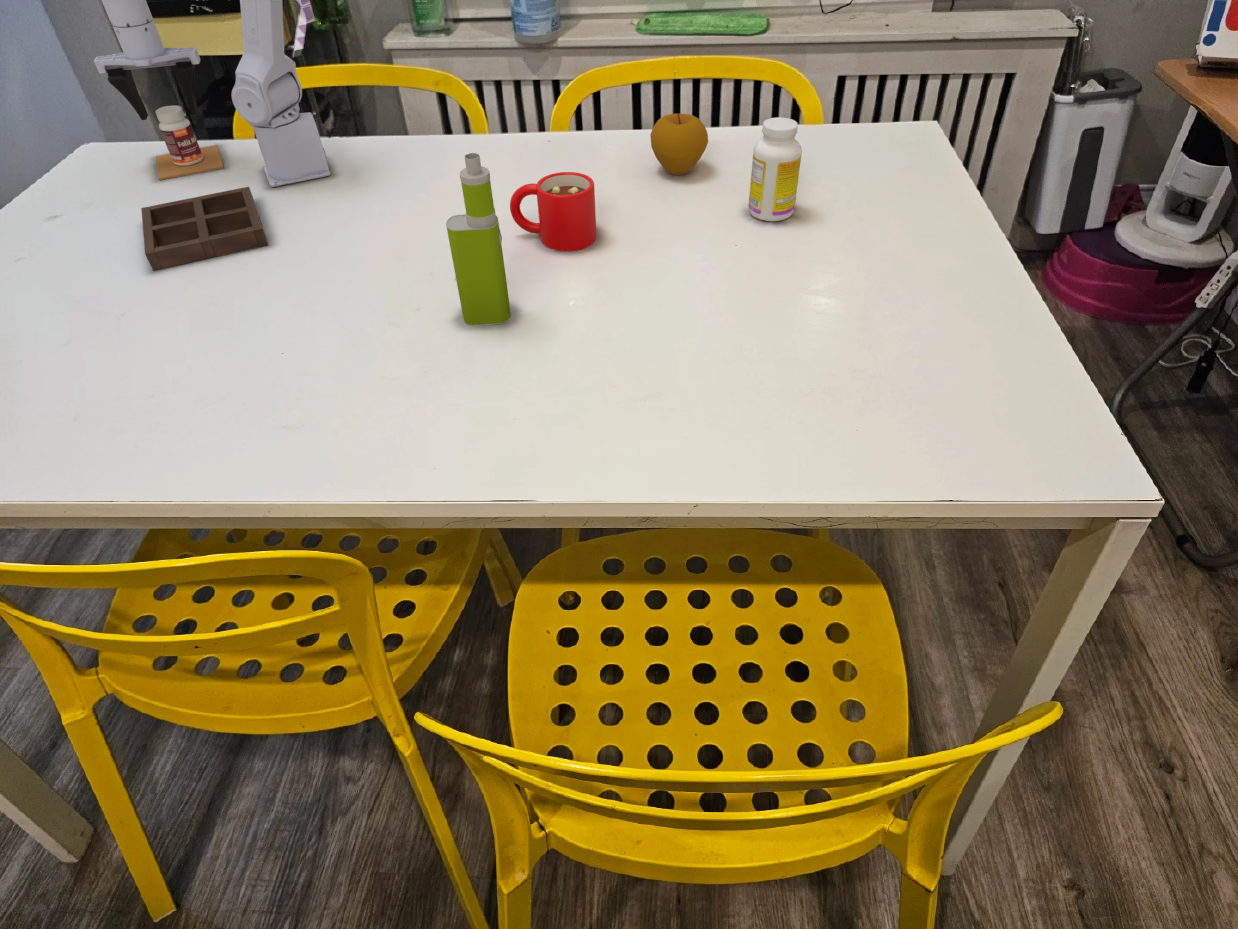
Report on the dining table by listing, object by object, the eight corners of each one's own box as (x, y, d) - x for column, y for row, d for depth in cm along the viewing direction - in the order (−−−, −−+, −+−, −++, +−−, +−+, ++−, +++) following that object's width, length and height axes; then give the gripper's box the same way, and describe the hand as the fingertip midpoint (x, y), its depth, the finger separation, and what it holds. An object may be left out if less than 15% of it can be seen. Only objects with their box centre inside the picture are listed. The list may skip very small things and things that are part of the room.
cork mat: (218, 146, 139) (217, 144, 138) (223, 168, 132) (223, 165, 132) (156, 158, 136) (155, 155, 135) (159, 180, 129) (158, 178, 129)
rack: (254, 202, 122) (248, 186, 121) (268, 245, 112) (262, 228, 111) (148, 224, 118) (141, 207, 116) (153, 270, 108) (144, 253, 106)
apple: (703, 158, 131) (706, 102, 124) (709, 182, 124) (713, 123, 118) (648, 160, 130) (648, 104, 124) (652, 184, 124) (652, 125, 118)
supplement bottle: (798, 206, 117) (811, 118, 108) (786, 226, 113) (798, 135, 104) (755, 199, 119) (764, 111, 111) (741, 218, 115) (749, 128, 106)
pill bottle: (189, 168, 131) (168, 116, 125) (167, 164, 133) (145, 112, 127) (210, 157, 134) (190, 105, 129) (188, 153, 136) (168, 102, 130)
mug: (518, 223, 116) (511, 170, 110) (599, 224, 115) (597, 171, 109) (507, 249, 110) (500, 195, 105) (593, 251, 109) (590, 197, 104)
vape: (512, 323, 97) (490, 161, 83) (462, 326, 96) (432, 165, 83) (512, 306, 99) (491, 147, 86) (464, 309, 99) (435, 151, 85)
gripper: (74, 34, 115) (117, 129, 124) (180, 24, 117) (214, 118, 127) (85, 21, 120) (125, 113, 129) (186, 11, 122) (219, 103, 132)
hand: (170, 114), depth 128 cm, fingers open, 7 cm apart
